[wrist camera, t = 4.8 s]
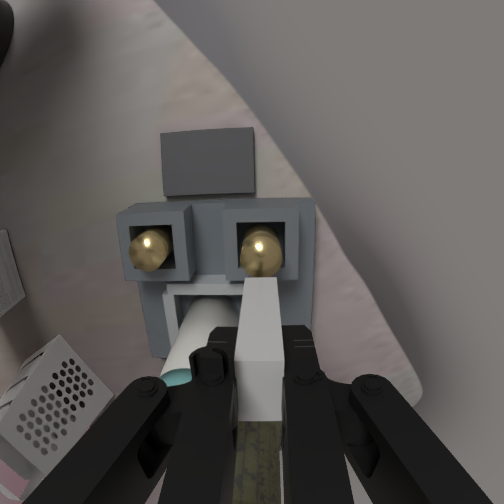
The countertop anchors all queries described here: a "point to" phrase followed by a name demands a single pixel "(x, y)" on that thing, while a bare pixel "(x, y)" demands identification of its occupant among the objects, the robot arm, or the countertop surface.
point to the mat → (208, 161)
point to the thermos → (257, 463)
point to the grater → (45, 413)
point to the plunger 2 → (261, 251)
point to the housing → (217, 257)
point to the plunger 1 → (151, 247)
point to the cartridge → (197, 333)
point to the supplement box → (8, 277)
